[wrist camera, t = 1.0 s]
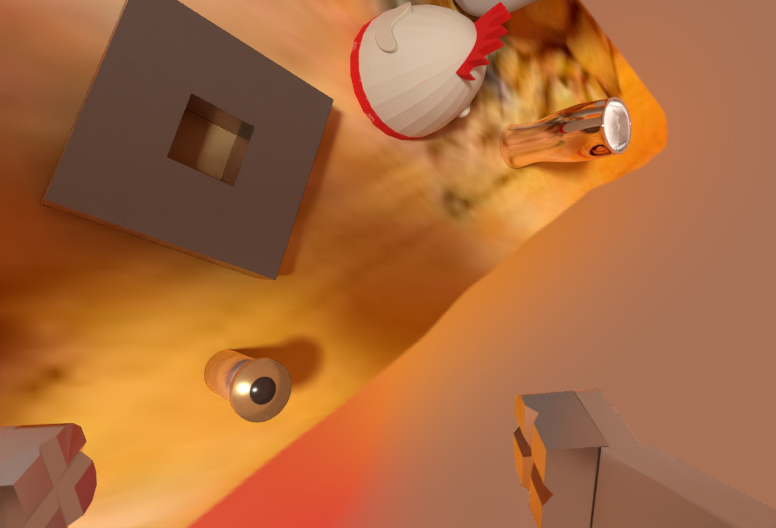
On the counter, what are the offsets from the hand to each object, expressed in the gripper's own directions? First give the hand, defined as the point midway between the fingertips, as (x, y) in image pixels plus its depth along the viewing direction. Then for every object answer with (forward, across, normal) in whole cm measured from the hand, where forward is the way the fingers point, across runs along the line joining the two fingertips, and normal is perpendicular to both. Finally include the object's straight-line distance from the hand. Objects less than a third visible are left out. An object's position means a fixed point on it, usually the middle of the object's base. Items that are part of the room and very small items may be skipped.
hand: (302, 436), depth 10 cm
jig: (+38, +14, -1) cm, 40 cm away
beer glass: (+64, -21, +4) cm, 68 cm away
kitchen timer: (+54, -5, -6) cm, 55 cm away
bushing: (+33, +13, +18) cm, 40 cm away
